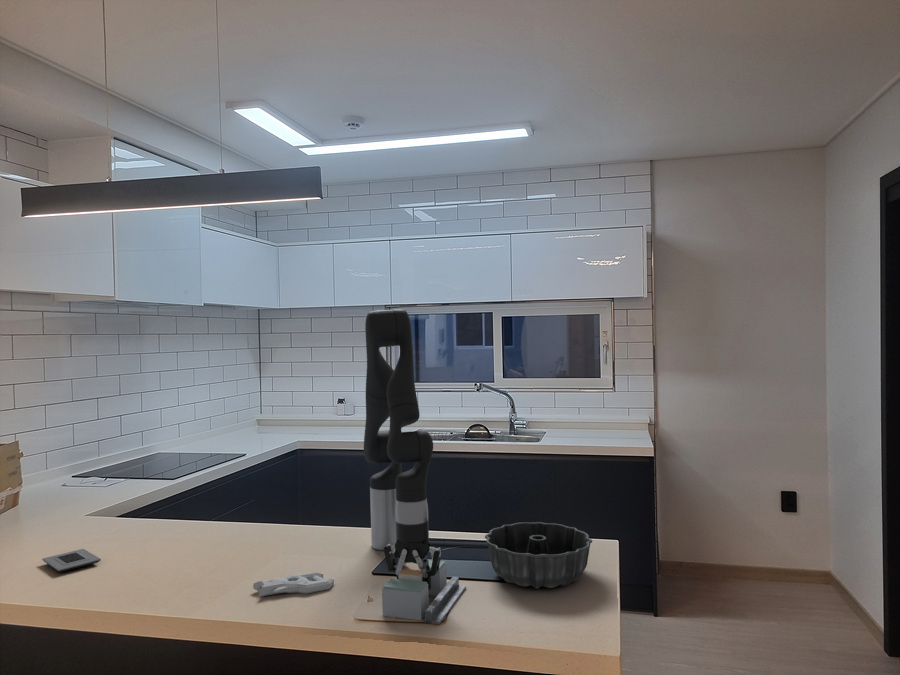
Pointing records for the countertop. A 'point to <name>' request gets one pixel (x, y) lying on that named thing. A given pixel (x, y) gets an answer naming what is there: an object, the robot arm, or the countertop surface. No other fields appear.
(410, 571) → the block
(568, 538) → the bundt pan
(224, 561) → the countertop surface
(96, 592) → the countertop surface
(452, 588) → the rail
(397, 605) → the block
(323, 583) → the grey flat plastic piece
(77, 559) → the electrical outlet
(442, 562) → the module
